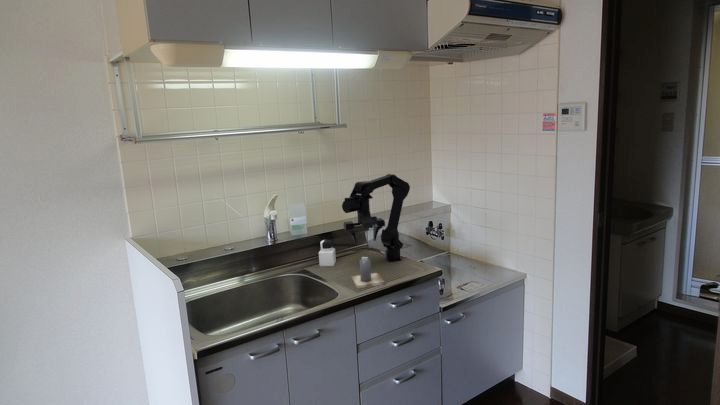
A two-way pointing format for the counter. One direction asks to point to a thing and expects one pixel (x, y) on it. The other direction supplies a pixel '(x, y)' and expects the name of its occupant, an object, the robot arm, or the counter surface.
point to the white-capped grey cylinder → (365, 269)
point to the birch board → (374, 282)
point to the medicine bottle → (327, 253)
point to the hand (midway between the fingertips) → (365, 242)
